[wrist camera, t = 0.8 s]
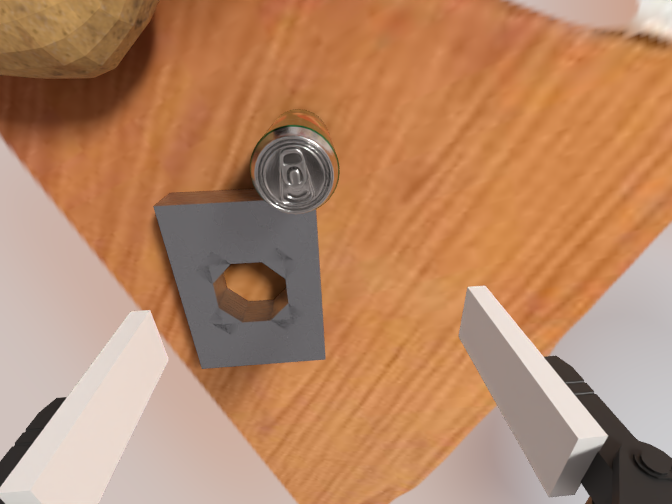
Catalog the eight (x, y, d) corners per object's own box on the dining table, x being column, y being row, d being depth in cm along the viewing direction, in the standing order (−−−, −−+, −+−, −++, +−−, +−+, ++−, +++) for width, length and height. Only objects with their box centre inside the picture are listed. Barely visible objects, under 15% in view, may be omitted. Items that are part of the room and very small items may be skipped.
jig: (169, 192, 30) (153, 206, 27) (314, 185, 31) (315, 197, 27) (210, 345, 38) (201, 368, 35) (324, 336, 39) (325, 359, 36)
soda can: (276, 173, 30) (258, 225, 19) (264, 112, 28) (236, 134, 17) (332, 166, 30) (345, 214, 19) (325, 104, 28) (335, 121, 17)
